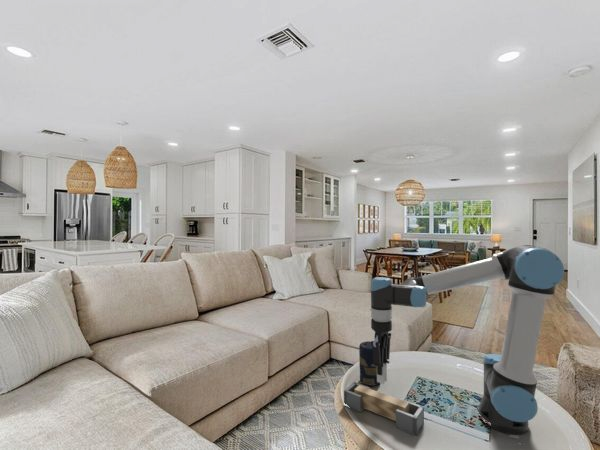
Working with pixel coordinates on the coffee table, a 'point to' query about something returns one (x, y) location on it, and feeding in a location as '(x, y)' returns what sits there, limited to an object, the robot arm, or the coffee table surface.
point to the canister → (367, 364)
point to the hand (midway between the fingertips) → (381, 381)
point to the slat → (381, 402)
